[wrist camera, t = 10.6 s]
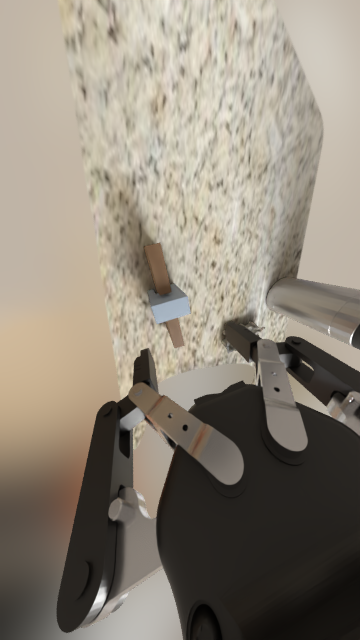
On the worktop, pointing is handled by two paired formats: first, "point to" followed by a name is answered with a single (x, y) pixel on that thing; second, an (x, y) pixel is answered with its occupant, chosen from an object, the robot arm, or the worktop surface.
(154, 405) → the robot arm
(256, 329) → the egg carton
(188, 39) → the worktop surface
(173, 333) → the slotted plate
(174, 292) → the notched block
